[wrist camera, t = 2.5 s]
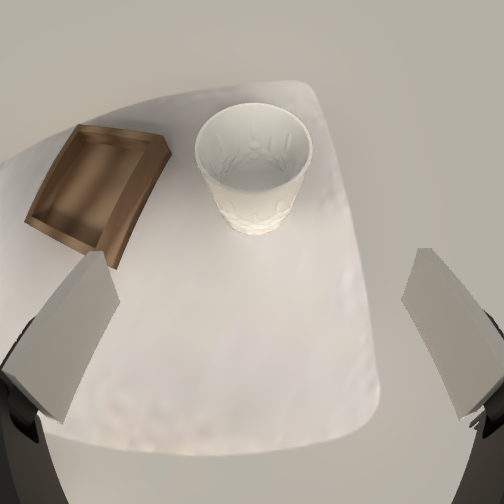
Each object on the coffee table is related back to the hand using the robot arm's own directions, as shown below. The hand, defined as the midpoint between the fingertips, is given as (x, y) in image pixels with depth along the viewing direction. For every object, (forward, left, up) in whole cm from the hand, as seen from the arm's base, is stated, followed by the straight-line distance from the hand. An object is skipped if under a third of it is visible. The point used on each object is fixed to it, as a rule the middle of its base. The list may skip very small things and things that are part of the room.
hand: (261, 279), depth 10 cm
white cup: (-4, +9, -14) cm, 17 cm away
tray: (-22, +5, -14) cm, 26 cm away
